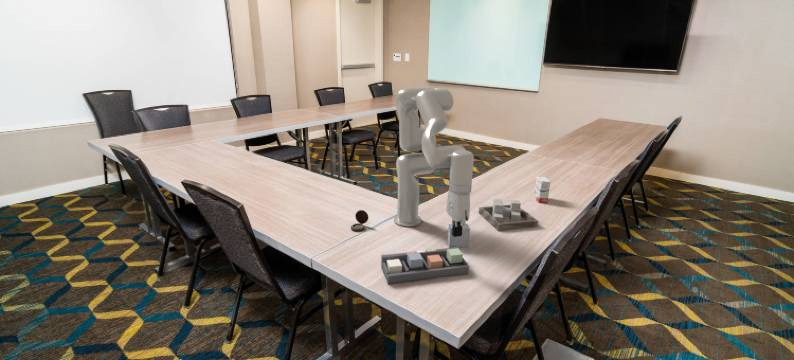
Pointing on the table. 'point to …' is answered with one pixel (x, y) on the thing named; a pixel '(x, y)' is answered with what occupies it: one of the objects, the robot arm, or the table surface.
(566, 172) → the table surface
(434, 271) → the grey compartment tray
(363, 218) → the compass
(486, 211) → the square grey tray
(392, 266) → the key ivory
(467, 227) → the medicine box
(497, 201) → the gray cube cluster
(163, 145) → the table surface
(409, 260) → the key slate
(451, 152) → the robot arm
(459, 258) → the key sage
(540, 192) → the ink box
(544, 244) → the table surface
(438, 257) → the peach square block
